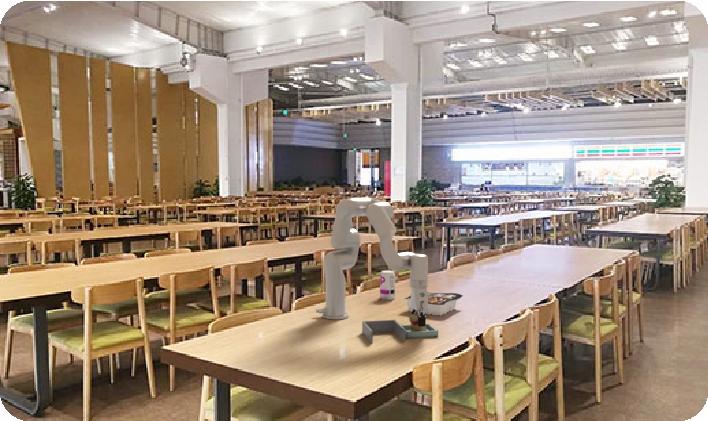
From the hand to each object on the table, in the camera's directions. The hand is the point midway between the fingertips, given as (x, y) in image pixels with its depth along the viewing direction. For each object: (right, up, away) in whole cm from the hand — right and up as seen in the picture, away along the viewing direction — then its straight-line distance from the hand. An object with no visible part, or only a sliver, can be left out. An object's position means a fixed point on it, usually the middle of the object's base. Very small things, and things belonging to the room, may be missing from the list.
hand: (418, 323), depth 240 cm
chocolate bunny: (0, -4, 0) cm, 4 cm away
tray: (0, -4, 0) cm, 4 cm away
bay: (-15, -5, -5) cm, 17 cm away
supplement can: (-9, -1, +71) cm, 71 cm away
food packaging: (+12, -3, +43) cm, 45 cm away
